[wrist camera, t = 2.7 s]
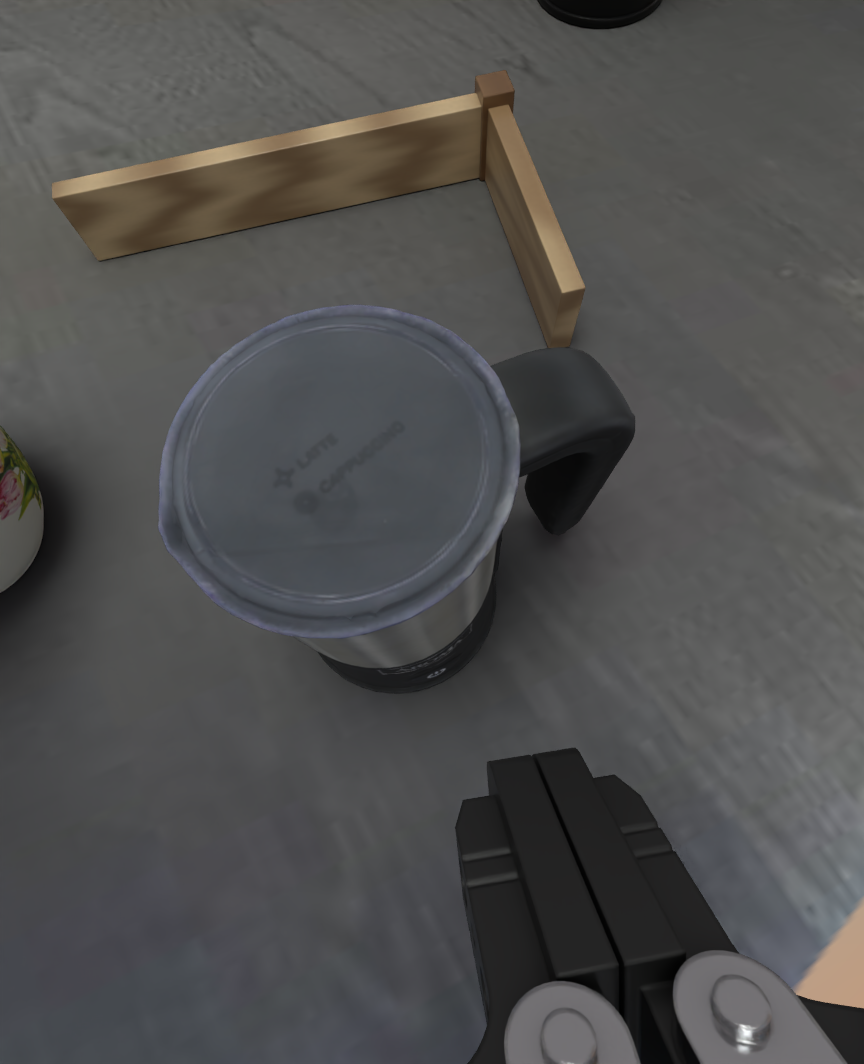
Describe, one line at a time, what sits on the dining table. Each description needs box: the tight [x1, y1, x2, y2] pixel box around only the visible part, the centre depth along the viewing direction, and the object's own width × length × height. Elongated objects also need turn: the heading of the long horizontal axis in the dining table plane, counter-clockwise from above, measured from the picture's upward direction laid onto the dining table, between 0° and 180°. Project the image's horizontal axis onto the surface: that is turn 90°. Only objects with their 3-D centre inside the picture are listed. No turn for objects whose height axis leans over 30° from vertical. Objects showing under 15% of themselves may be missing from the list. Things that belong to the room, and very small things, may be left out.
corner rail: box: [52, 70, 585, 348], centre depth 33 cm, size 26×15×5 cm, turn 104°
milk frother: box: [158, 305, 635, 693], centre depth 23 cm, size 14×16×15 cm
